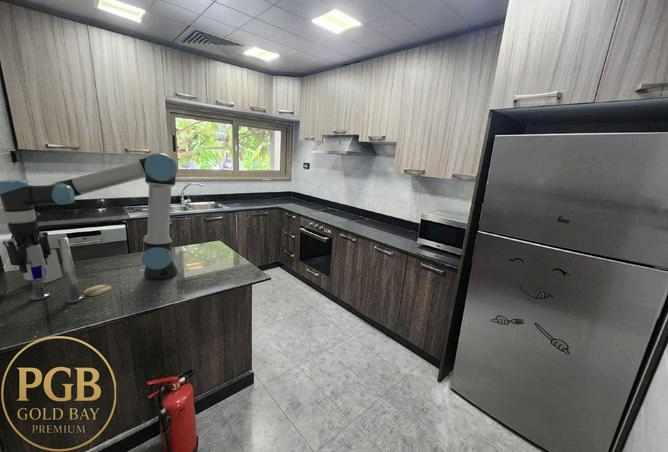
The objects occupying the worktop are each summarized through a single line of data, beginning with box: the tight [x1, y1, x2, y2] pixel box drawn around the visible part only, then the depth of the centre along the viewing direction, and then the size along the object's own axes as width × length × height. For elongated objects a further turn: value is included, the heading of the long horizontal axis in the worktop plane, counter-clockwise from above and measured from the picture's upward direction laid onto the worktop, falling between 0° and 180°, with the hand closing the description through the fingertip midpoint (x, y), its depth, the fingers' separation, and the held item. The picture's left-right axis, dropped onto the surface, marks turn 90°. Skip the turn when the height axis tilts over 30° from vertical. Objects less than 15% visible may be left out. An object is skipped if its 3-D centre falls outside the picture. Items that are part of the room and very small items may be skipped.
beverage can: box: [26, 244, 48, 283], centre depth 108 cm, size 6×6×15 cm
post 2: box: [57, 236, 86, 305], centre depth 114 cm, size 6×6×28 cm
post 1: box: [30, 281, 52, 302], centre depth 115 cm, size 6×6×28 cm
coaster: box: [82, 284, 112, 297], centre depth 126 cm, size 10×10×1 cm
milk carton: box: [42, 245, 63, 284], centre depth 132 cm, size 7×7×19 cm
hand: (36, 276), depth 109 cm, fingers closed on beverage can, 5 cm apart
